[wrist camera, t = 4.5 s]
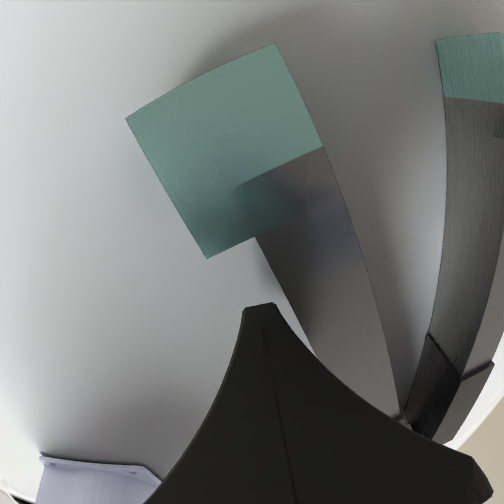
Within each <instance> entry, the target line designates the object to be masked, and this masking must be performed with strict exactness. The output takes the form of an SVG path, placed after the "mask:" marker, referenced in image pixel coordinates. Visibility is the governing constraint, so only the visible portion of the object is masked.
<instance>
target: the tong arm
mask: <svg viewBox="0 0 504 504" xmlns="http://www.w3.org/2000/svg"><path fill="white" fill-rule="evenodd" d="M125 119H126V121H127V123H128V125H129V127H130V129H131V130H132V132H133V134H134V136H135V138H136V139H137V141H138V143H139V145H140V147H141V148H142V150H143V152H144V154H145V155H146V157H147V159H148V161H149V162H150V164H151V166H152V168H153V170H154V171H155V173H156V175H157V176H158V178H159V180H160V182H161V183H162V185H163V187H164V189H165V190H166V192H167V194H168V195H169V197H170V199H171V201H172V202H173V204H174V206H175V207H176V209H177V211H178V212H179V214H180V216H181V217H182V219H183V221H184V222H185V224H186V226H187V227H188V229H189V231H190V232H191V234H192V236H193V237H194V239H195V241H196V242H197V244H198V245H199V247H200V249H201V250H202V252H203V254H204V255H205V257H206V259H208V258H210V257H212V256H214V255H216V254H219V253H221V252H223V251H225V250H227V249H229V248H231V247H233V246H235V245H237V244H239V243H241V242H244V241H246V240H248V239H250V238H252V237H254V236H255V238H256V240H257V242H258V244H259V245H260V247H261V249H262V251H263V253H264V255H265V257H266V259H267V261H268V263H269V265H270V267H271V269H272V270H273V272H274V274H275V276H276V278H277V280H278V282H279V284H280V286H281V288H282V290H283V292H284V294H285V296H286V298H287V299H288V301H289V303H290V305H291V307H292V309H293V311H294V313H295V315H296V317H297V319H298V321H299V323H300V325H301V327H302V329H303V331H304V333H305V335H306V336H307V338H308V340H309V342H310V344H311V346H312V348H313V350H314V352H315V354H316V356H317V358H318V360H319V361H320V362H321V363H322V364H323V365H324V366H325V367H326V368H327V369H328V370H329V371H331V372H332V373H333V374H334V375H335V376H336V377H337V378H338V379H339V380H341V381H342V382H343V383H344V384H345V385H346V386H348V387H349V388H350V389H351V390H353V391H354V392H355V393H356V394H358V395H359V396H360V397H362V398H363V399H364V400H366V401H367V402H368V403H370V404H371V405H373V406H374V407H376V408H377V409H379V410H380V411H382V412H383V413H385V414H387V415H388V416H390V417H391V418H393V419H395V420H396V421H398V422H399V423H401V424H403V425H404V426H406V427H408V428H410V429H411V430H412V428H411V426H410V424H405V418H404V416H403V414H402V412H401V410H400V408H399V404H398V398H397V393H396V387H395V382H394V377H393V372H392V367H391V363H390V358H389V354H388V349H387V345H386V340H385V336H384V332H383V328H382V324H381V320H380V316H379V312H378V308H377V305H376V301H375V297H374V293H373V290H372V286H371V283H370V279H369V276H368V272H367V269H366V266H365V262H364V259H363V256H362V253H361V249H360V246H359V243H358V240H357V237H356V234H355V231H354V228H353V225H352V222H351V219H350V216H349V213H348V210H347V208H346V205H345V202H344V199H343V196H342V194H341V191H340V188H339V185H338V183H337V180H336V177H335V175H334V172H333V170H332V167H331V165H330V162H329V159H328V157H327V154H326V152H325V149H324V147H323V145H322V142H321V140H320V137H319V135H318V133H317V130H316V128H315V126H314V123H313V121H312V119H311V116H310V114H309V112H308V110H307V107H306V105H305V103H304V101H303V99H302V97H301V94H300V92H299V90H298V88H297V86H296V84H295V82H294V80H293V77H292V75H291V73H290V71H289V69H288V67H287V65H286V63H285V61H284V59H283V57H282V55H281V53H280V51H279V50H278V48H277V46H276V44H272V45H269V46H267V47H264V48H261V49H259V50H256V51H254V52H251V53H249V54H247V55H244V56H242V57H240V58H237V59H235V60H233V61H230V62H228V63H226V64H224V65H222V66H219V67H217V68H215V69H213V70H211V71H209V72H207V73H205V74H203V75H201V76H199V77H197V78H195V79H193V80H191V81H189V82H187V83H185V84H183V85H181V86H179V87H177V88H176V89H174V90H172V91H170V92H168V93H166V94H165V95H163V96H161V97H159V98H158V99H156V100H154V101H152V102H151V103H149V104H147V105H146V106H144V107H142V108H141V109H139V110H137V111H136V112H134V113H133V114H131V115H129V116H128V117H126V118H125Z"/></svg>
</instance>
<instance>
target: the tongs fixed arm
mask: <svg viewBox="0 0 504 504" xmlns="http://www.w3.org/2000/svg"><path fill="white" fill-rule="evenodd" d="M435 41H436V46H437V52H438V58H439V64H440V70H441V78H442V86H443V95H444V105H445V117H446V134H447V201H446V218H445V231H444V241H443V251H442V259H441V267H440V274H439V280H438V287H437V293H436V298H435V304H434V309H433V314H432V319H431V324H430V328H429V333H428V334H427V335H426V339H425V343H424V347H423V351H422V355H421V359H420V363H419V367H418V370H417V374H416V377H415V381H414V384H413V387H412V391H411V394H410V397H409V400H408V403H407V406H406V409H405V412H404V414H405V416H406V418H407V420H408V422H409V424H410V426H411V428H412V430H413V431H415V432H417V433H419V434H421V435H423V436H425V437H427V438H429V439H431V440H433V441H435V442H437V443H440V444H442V445H443V444H445V443H447V442H449V441H451V440H452V439H453V438H454V436H455V435H456V433H457V432H458V430H459V429H460V427H461V426H462V424H463V422H464V421H465V419H466V417H467V416H468V414H469V412H470V411H471V409H472V407H473V405H474V404H475V402H476V400H477V398H478V396H479V395H480V393H481V391H482V389H483V387H484V385H485V383H486V381H487V379H488V377H489V375H490V373H491V371H492V369H493V367H494V365H495V364H494V363H493V361H492V359H493V356H494V354H495V352H496V349H497V347H498V344H499V342H500V339H501V337H502V334H503V332H504V34H502V33H499V32H497V33H485V34H475V35H467V36H459V37H452V38H446V39H439V40H435Z"/></svg>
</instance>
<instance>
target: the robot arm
mask: <svg viewBox="0 0 504 504" xmlns="http://www.w3.org/2000/svg"><path fill="white" fill-rule="evenodd" d="M39 462H41V463H42V464H43V465H44V466H45V467H44V470H43V474H42V478H41V482H40V486H39V490H38V494H37V498H36V502H35V504H483V503H484V502H485V501H487V500H488V499H489V498H491V496H492V494H493V492H494V491H493V489H492V487H491V485H490V483H489V481H488V479H487V477H486V476H485V474H484V473H483V471H482V470H481V468H480V467H479V466H478V464H477V463H476V462H475V460H474V459H473V458H472V457H471V456H469V455H466V454H464V453H461V452H458V451H456V450H453V449H451V448H448V447H446V446H444V445H442V444H440V443H437V442H435V441H433V440H431V439H429V438H427V437H425V436H423V435H421V434H419V433H417V432H415V431H413V430H411V429H410V428H408V427H406V426H404V425H403V424H401V423H399V422H398V421H396V420H395V419H393V418H391V417H390V416H388V415H387V414H385V413H383V412H382V411H380V410H379V409H377V408H376V407H374V406H373V405H371V404H370V403H368V402H367V401H366V400H364V399H363V398H362V397H360V396H359V395H358V394H356V393H355V392H354V391H353V390H351V389H350V388H349V387H348V386H346V385H345V384H344V383H343V382H342V381H341V380H339V379H338V378H337V377H336V376H335V375H334V374H333V373H332V372H331V371H329V370H328V369H327V368H326V367H325V366H324V365H323V364H322V363H321V362H320V361H319V360H318V359H317V358H316V357H315V356H314V355H313V354H312V352H311V351H310V350H309V349H308V348H307V347H306V346H305V345H304V343H303V342H302V341H301V340H300V339H299V338H298V336H297V335H296V334H295V333H294V331H293V330H292V329H291V327H290V326H289V325H288V323H287V322H286V321H285V319H284V318H283V316H282V315H281V313H280V311H279V309H278V307H277V305H276V304H274V303H272V302H270V303H266V304H261V305H256V306H251V307H246V308H245V309H244V310H243V311H242V319H241V325H240V330H239V334H238V338H237V341H236V345H235V348H234V351H233V354H232V357H231V361H230V363H229V366H228V369H227V371H226V374H225V376H224V379H223V381H222V384H221V386H220V389H219V391H218V393H217V395H216V398H215V400H214V402H213V404H212V406H211V408H210V410H209V412H208V414H207V415H206V417H205V419H204V421H203V423H202V425H201V426H200V428H199V430H198V431H197V433H196V435H195V436H194V438H193V440H192V441H191V443H190V444H189V446H188V448H187V449H186V451H185V452H184V454H183V455H182V456H181V458H180V459H179V461H178V462H177V463H176V465H175V466H174V467H173V468H172V470H171V471H170V472H169V474H168V475H167V476H166V477H165V479H164V480H163V481H162V482H161V481H160V480H159V479H158V478H157V477H155V476H154V475H153V474H152V473H151V472H150V471H149V470H148V469H147V468H145V467H143V466H136V465H112V464H98V463H87V462H78V461H70V460H63V459H56V458H50V457H44V456H40V457H39Z"/></svg>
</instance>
